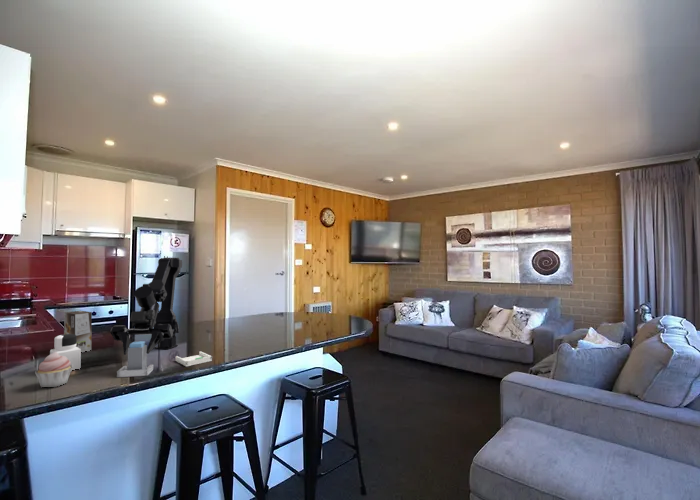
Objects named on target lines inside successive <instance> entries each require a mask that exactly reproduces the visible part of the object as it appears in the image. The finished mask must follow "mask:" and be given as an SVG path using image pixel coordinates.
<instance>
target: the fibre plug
mask: <svg viewBox="0 0 700 500" xmlns="http://www.w3.org/2000/svg"><path fill="white" fill-rule="evenodd" d="M147 348H148V345H147V343H146V340H145V341H142V340H141V341H133V342H131V343H130V346H129V348H128V352H127V370H135V369H146V368H147V367H148V366H147V365H148V364H147V363H148V354H147V353H146V352H147Z"/></svg>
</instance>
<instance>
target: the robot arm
mask: <svg viewBox="0 0 700 500" xmlns="http://www.w3.org/2000/svg"><path fill="white" fill-rule="evenodd" d="M182 268H183V260H182V259H181V258H180V257H161V258H158V262H157V268H156V269H155V272H154V274H153V277H152V280H151V282H149V283H143V284H142V285H141V286H139V287H137V288H136V289H135V290H134V291H133V295H134V297H135V300H136V303H137V305H138V307H140V311H132V312H131V313H130V314H131V315H130V318H129V319H130V322H132V324H131V326H132V327H134V328H127V325H126V324H125V325H118V324H117V325H113V326H112V327H111V328H110V332H109V333H110V334H111V336H112V337H113V340H114V341H116V342H119V341H120V342H121V343H122V350H123V355H124V356H126V355H128V348H129V347H130V344H131V343H132V340H131V338H130V337H131V336H135V335H136V336H147V335H149V336H150V335H151V336H150V339H149V343H148V345H147V352H146V353H147V355H149V354H150V352H151V351H153V350H154V349H158V350H169V349H172V348H176V347H178V346H179V345H178V344H177V336H176V334H178V333H179V332H180V326H179V323H178V320H177V316H176V313H175V311H174V310H173V309H174V299H175V288H176V279H177V277H178V276H179V274H180V273H181V269H182ZM159 303H161V305H160V304H159Z"/></svg>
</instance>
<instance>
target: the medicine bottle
mask: <svg viewBox="0 0 700 500" xmlns="http://www.w3.org/2000/svg"><path fill="white" fill-rule="evenodd" d="M53 342H54V348H53V349H52V348H51V349H50V351H49V355H50V354H52V353H54V352H57V353H58V354H59V356H65V357H66V358H67V359H68V360H69V361H70V362H71V364H70V365H73V366H72V367H73V369H72V370H74V371H76V370H75V369H79V370H81V369H82V368H81V367H82V366H81V363H82V361H81V359H82V353H81V349H80V348H78V347H76V345H77V336H76V335H74V334H64V333H63V334H60V335H57V336H55V337H54V341H53ZM80 368H81V369H80Z"/></svg>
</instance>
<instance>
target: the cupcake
mask: <svg viewBox="0 0 700 500" xmlns="http://www.w3.org/2000/svg"><path fill="white" fill-rule="evenodd" d="M70 364H71V362H70V361H69V360H68V359H67V358H66V357H65V356H59V354H58V353H57V352H54V353H52V354H50V353H49V355H47V356H46V357H45V358H44V359H43V361H41V362H40V363H39V365H38V370H34V373H35V375H36V377H37V380H38V382H39V383H38V384H39V385H40V388H42V387H54V388H57V387H56V386H58V387H61V386H60V385H62V386H64V385H66V384H67V383H68V381H69V378H70V374H71V373H72V372H73V371H72V369H73V367H72V366H73V365H70ZM65 383H66V384H65ZM63 384H64V385H63Z"/></svg>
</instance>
